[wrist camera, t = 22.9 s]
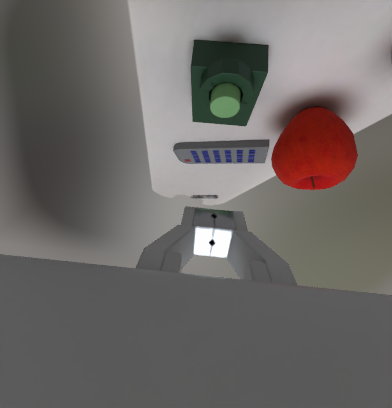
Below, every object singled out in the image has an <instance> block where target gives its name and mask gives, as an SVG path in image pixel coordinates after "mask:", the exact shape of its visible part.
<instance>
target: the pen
mask: <svg viewBox="0 0 392 408" xmlns="http://www.w3.org/2000/svg"><path fill="white" fill-rule="evenodd" d="M210 196H214V195H210ZM191 198H214V199H216V198H218V197H217V196H214V197H208V196H207V197H204V196H193V197H191Z"/></svg>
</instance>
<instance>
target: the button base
mask: <svg viewBox="0 0 392 408" xmlns="http://www.w3.org/2000/svg"><path fill="white" fill-rule="evenodd" d="M267 73H268V45H255V44H241V43H228V42H214V41H201V40H194V47H193V54H192V62H191V85H192V116H193V122H203V123H214V124H226V125H238V126H246V125H247V123H248V120H249V118H250V115H251V113H252V110H253V108H254V105H255V103H256V101H257V98H258V96H259V93H260V91H261V88H262V86H263V83H264V81H265V78H266V76H267ZM224 82H228V83H233V84H235V85H237V86H238V88H239V89H240V92H241V96H240V109H239V111H238V112H237V114H235V115H234V116H232V117H229V118H221V117H217V116H215V115H214V114H213V113H212V112H211V110H210V103H211V93H212V90H213V88H214V87H215V86H216V85H218V84H220V83H224Z"/></svg>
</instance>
